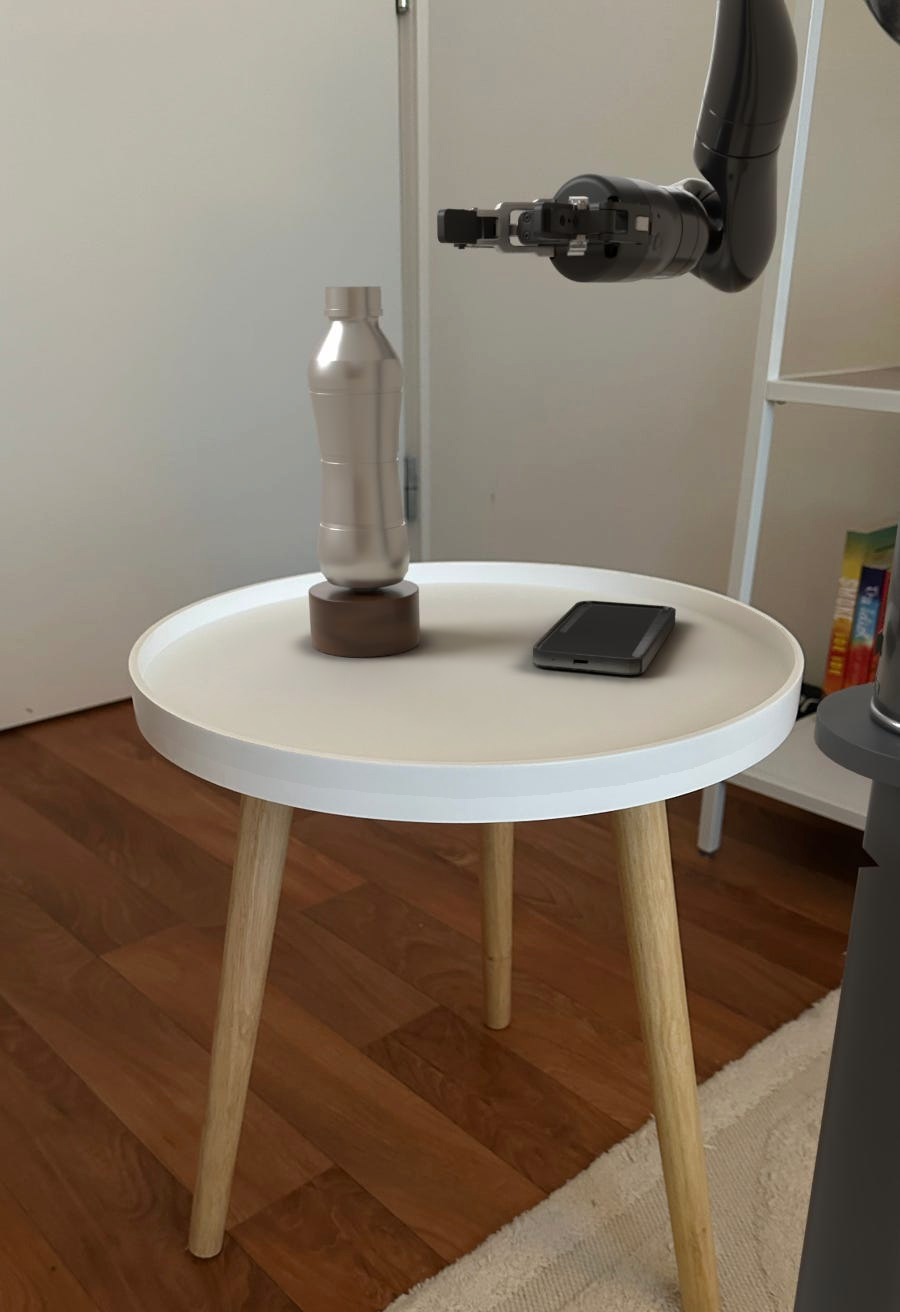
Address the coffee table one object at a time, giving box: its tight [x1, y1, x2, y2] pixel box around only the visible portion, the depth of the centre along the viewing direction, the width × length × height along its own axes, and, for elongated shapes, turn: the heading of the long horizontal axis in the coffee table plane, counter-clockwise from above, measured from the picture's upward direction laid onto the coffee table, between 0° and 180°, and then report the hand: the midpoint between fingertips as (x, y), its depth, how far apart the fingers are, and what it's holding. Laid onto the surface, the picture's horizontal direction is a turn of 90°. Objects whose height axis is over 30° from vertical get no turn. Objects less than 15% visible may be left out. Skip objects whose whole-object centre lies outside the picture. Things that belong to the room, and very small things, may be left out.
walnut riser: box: [308, 579, 421, 658], centre depth 85 cm, size 8×8×4 cm
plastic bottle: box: [306, 285, 411, 590], centre depth 80 cm, size 6×7×20 cm
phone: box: [531, 600, 677, 676], centre depth 84 cm, size 8×1×15 cm
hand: (487, 223), depth 80 cm, fingers open, 8 cm apart
